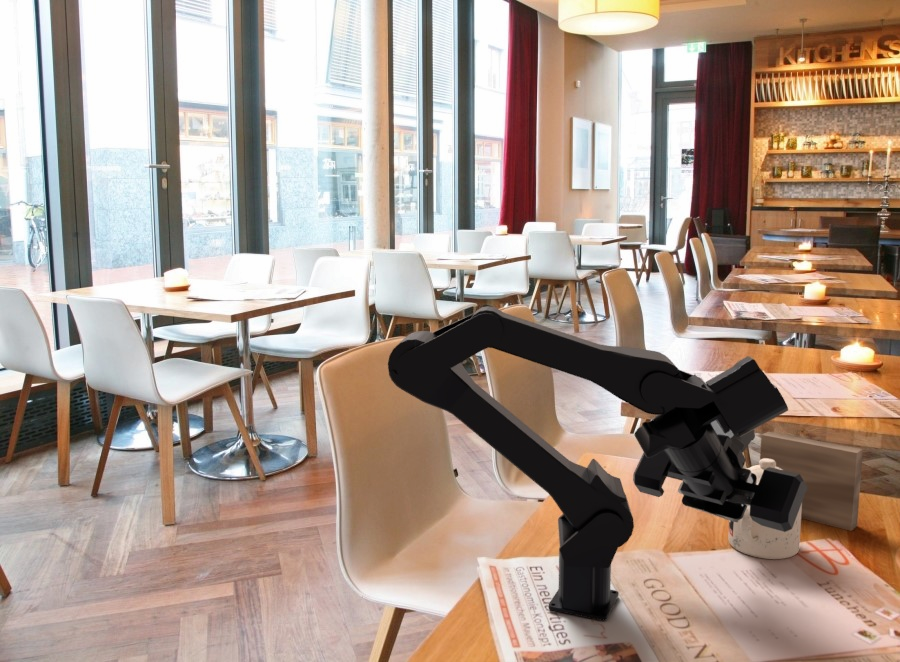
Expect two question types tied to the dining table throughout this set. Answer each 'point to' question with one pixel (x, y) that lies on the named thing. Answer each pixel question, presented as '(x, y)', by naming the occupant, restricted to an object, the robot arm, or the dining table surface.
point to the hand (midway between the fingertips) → (735, 518)
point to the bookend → (820, 476)
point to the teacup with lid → (764, 530)
